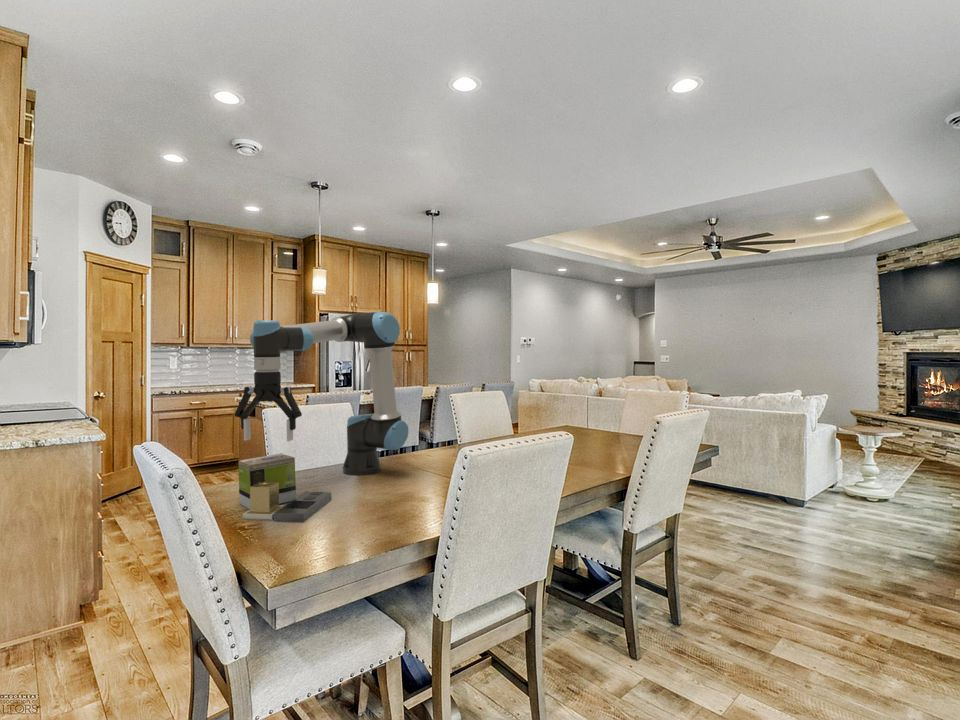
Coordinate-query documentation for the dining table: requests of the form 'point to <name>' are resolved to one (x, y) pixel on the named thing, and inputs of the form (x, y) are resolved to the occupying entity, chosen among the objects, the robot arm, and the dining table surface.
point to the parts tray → (259, 515)
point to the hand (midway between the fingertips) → (268, 440)
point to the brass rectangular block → (264, 497)
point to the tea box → (267, 476)
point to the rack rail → (302, 507)
